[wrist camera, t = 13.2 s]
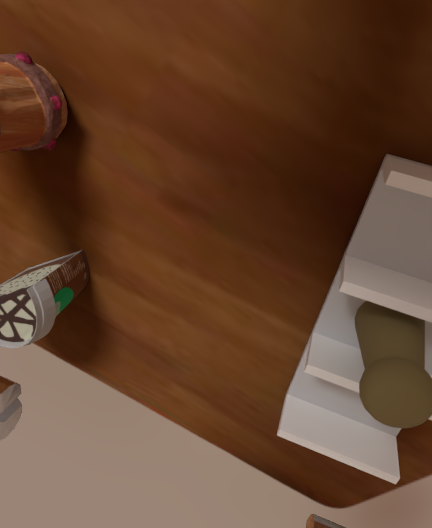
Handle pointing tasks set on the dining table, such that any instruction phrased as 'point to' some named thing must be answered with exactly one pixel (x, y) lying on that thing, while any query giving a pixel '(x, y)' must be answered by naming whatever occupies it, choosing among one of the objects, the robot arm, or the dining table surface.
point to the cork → (393, 366)
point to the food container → (39, 298)
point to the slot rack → (343, 322)
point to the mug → (29, 105)
